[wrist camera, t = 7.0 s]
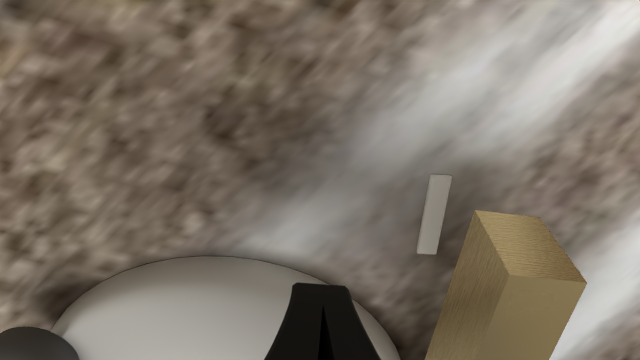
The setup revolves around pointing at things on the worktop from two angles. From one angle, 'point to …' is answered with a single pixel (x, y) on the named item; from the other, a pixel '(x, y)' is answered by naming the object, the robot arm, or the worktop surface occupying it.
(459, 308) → the lever
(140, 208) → the worktop surface
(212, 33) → the worktop surface
